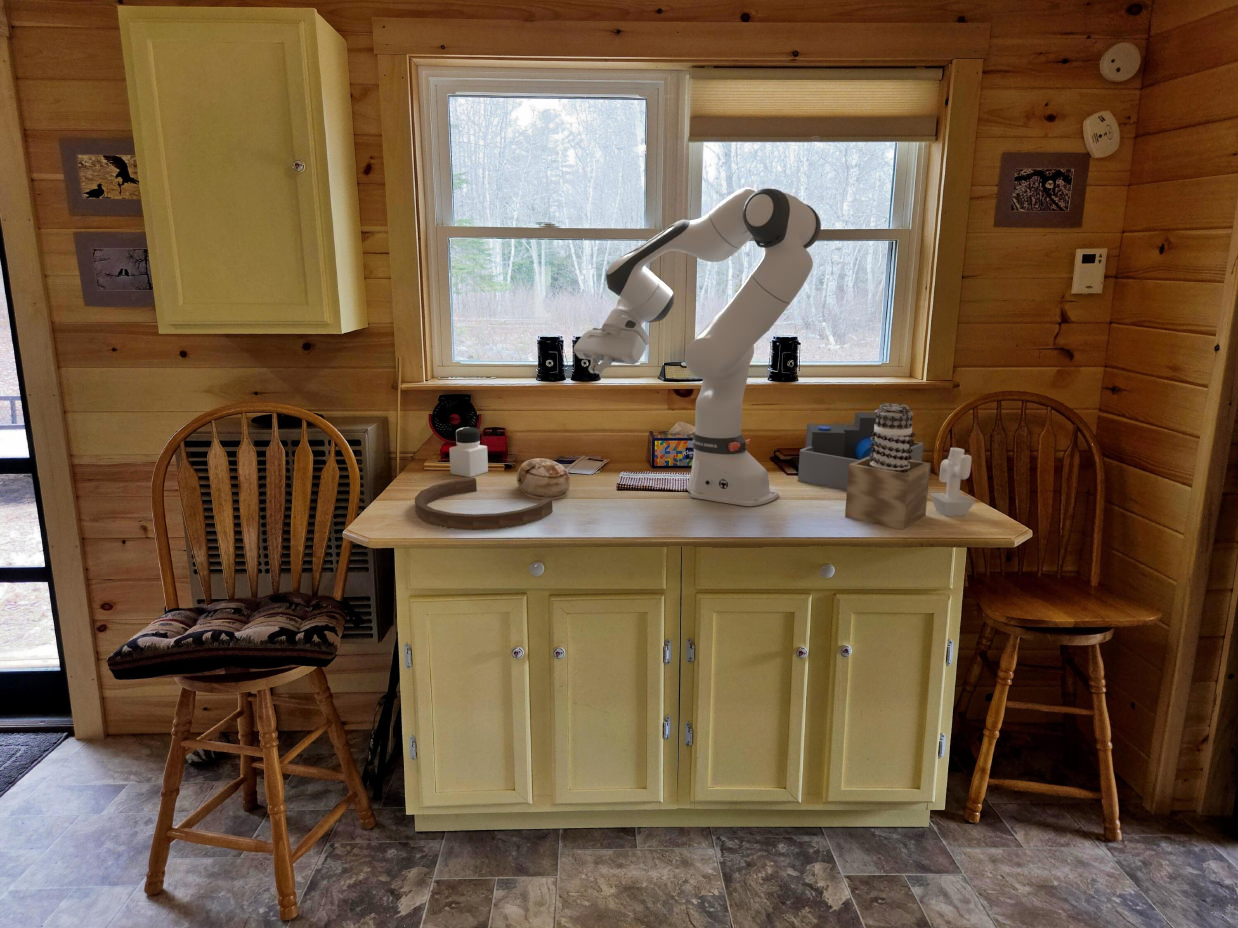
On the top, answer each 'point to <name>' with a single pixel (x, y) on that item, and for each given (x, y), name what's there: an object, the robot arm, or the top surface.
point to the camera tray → (834, 467)
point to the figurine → (953, 484)
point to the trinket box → (543, 479)
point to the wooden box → (887, 493)
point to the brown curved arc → (473, 520)
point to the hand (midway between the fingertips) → (594, 371)
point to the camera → (843, 437)
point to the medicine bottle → (468, 454)
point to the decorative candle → (892, 438)
